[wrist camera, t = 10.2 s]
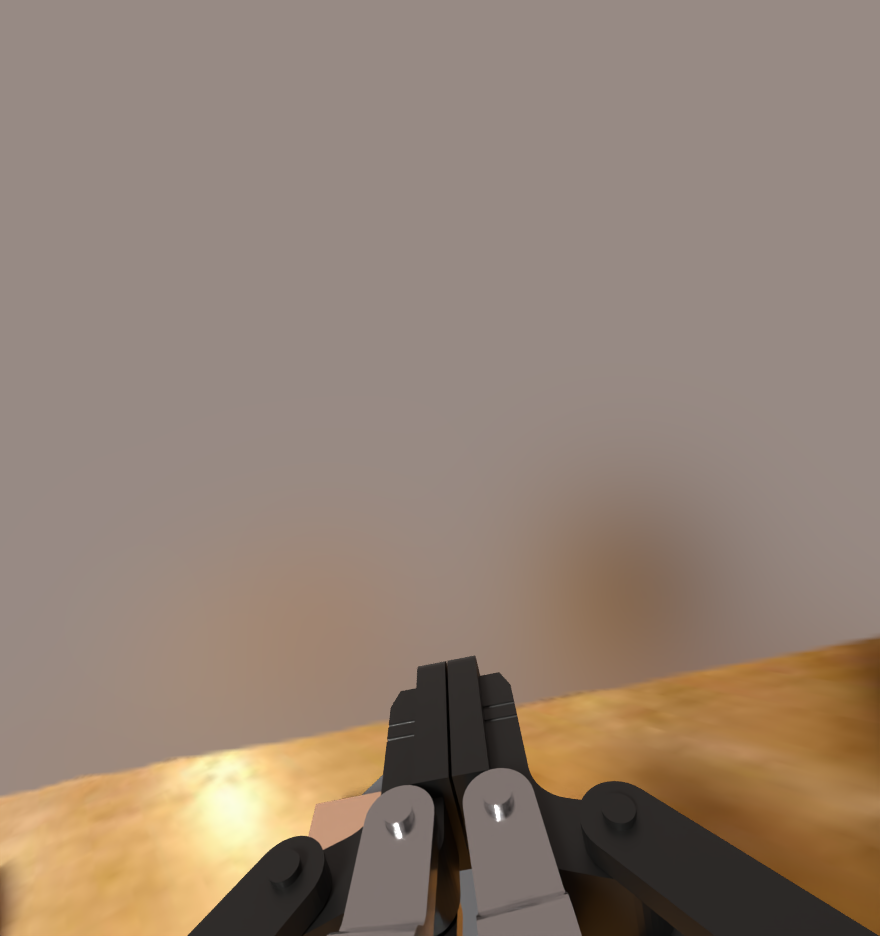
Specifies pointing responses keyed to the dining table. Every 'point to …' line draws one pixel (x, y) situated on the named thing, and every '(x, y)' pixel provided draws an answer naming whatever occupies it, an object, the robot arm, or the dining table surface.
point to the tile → (340, 818)
